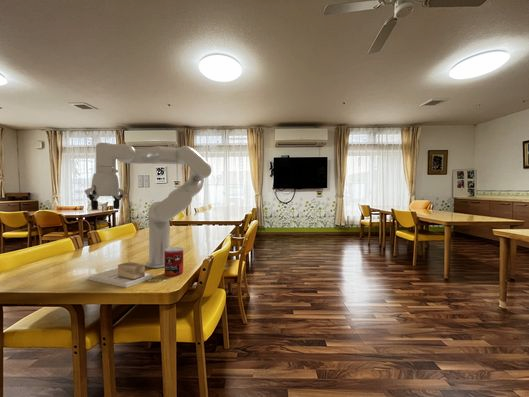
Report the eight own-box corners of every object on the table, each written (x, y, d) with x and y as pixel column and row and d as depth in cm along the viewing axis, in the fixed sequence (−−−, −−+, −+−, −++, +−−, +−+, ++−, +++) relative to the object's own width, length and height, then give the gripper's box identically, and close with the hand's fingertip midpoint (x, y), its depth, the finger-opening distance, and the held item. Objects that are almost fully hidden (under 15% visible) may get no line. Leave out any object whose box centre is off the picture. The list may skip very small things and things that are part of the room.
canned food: (160, 276, 104) (160, 250, 104) (170, 270, 112) (170, 246, 112) (177, 277, 103) (177, 251, 103) (186, 271, 111) (186, 247, 111)
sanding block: (129, 273, 102) (129, 261, 102) (144, 276, 99) (144, 264, 99) (118, 277, 98) (118, 264, 98) (133, 280, 94) (133, 267, 94)
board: (116, 271, 110) (116, 268, 110) (152, 277, 102) (152, 274, 102) (88, 279, 99) (88, 275, 99) (126, 287, 91) (126, 283, 91)
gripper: (118, 173, 118) (118, 208, 118) (79, 169, 102) (79, 210, 102) (129, 172, 115) (129, 208, 115) (91, 168, 99) (91, 210, 99)
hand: (106, 209), depth 108 cm, fingers open, 9 cm apart
